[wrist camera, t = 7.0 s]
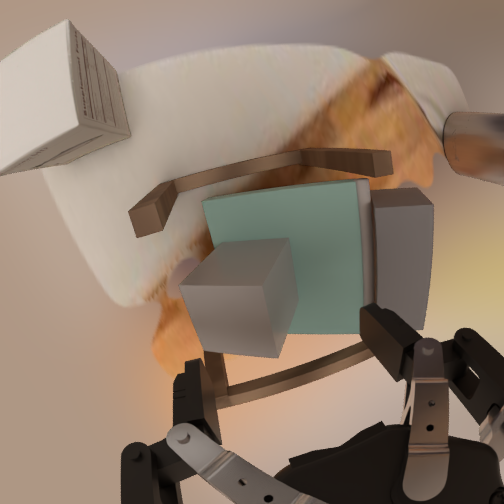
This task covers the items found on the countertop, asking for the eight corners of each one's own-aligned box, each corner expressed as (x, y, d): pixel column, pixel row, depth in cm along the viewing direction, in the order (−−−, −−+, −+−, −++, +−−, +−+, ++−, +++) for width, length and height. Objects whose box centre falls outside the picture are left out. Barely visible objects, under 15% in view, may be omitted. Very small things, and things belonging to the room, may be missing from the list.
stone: (288, 237, 18) (262, 285, 13) (298, 300, 20) (278, 358, 15) (221, 242, 20) (178, 285, 15) (237, 299, 22) (203, 350, 17)
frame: (309, 147, 25) (390, 150, 14) (328, 282, 31) (390, 348, 20) (159, 183, 24) (128, 211, 12) (204, 320, 30) (214, 410, 18)
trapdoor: (415, 169, 16) (432, 181, 13) (413, 308, 21) (420, 342, 17) (219, 191, 22) (191, 207, 18) (250, 311, 26) (233, 341, 23)
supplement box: (66, 166, 21) (-16, 183, 10) (53, 98, 18) (-26, 77, 7) (133, 138, 22) (79, 128, 10) (119, 68, 19) (67, 13, 8)
